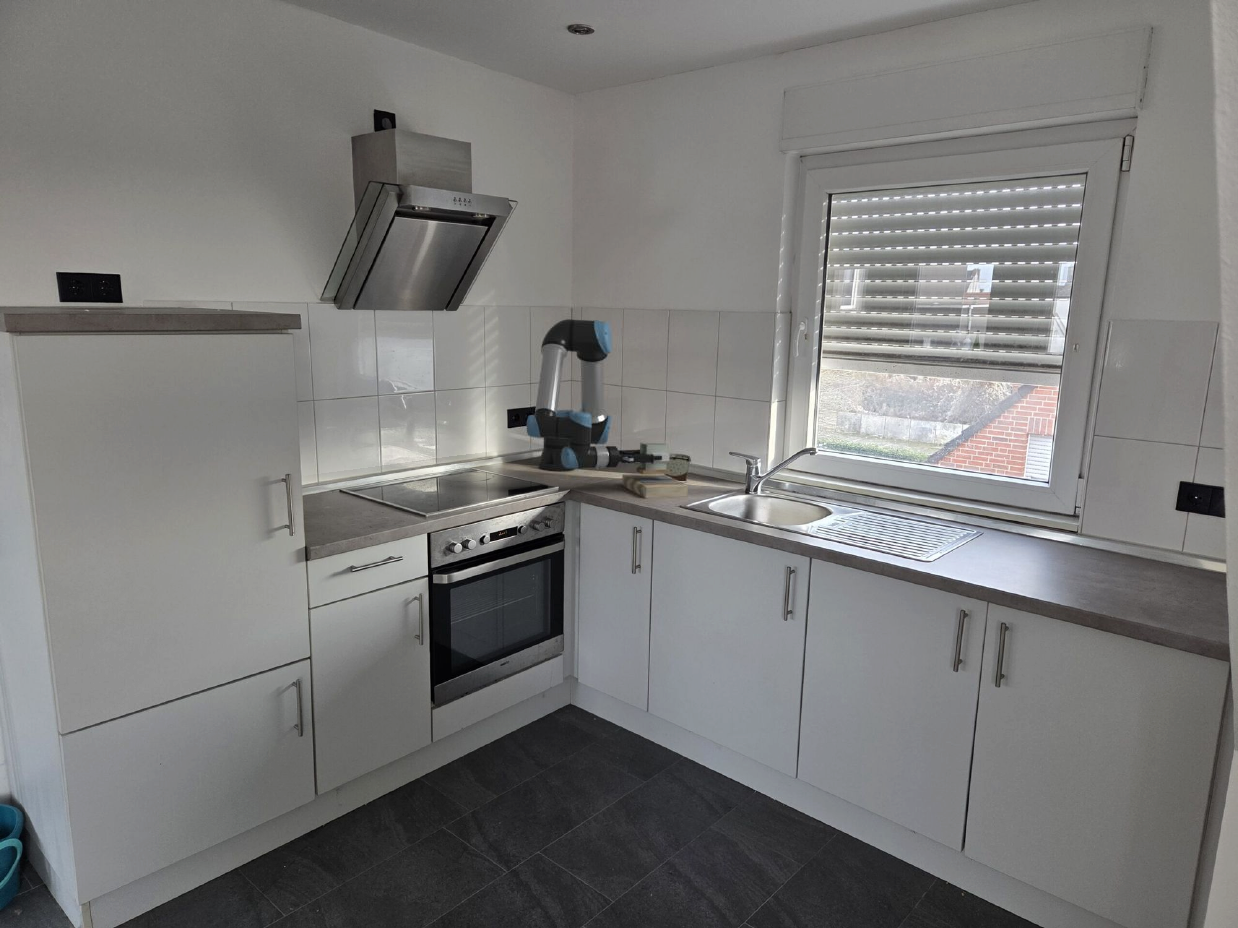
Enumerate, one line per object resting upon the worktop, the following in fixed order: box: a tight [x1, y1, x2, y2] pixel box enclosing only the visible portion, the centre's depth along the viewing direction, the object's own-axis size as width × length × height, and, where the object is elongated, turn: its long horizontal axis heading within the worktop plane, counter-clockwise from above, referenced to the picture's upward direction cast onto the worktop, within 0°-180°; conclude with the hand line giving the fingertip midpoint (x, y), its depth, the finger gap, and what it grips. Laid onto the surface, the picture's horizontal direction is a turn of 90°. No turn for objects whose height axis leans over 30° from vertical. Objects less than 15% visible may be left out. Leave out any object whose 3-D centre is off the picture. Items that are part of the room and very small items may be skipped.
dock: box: [621, 473, 689, 499], centre depth 295 cm, size 22×16×4 cm
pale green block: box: [636, 441, 669, 474], centre depth 292 cm, size 6×10×10 cm, turn 112°
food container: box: [665, 453, 692, 482], centre depth 315 cm, size 12×6×10 cm, turn 84°
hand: (664, 455), depth 294 cm, fingers closed on pale green block, 6 cm apart
